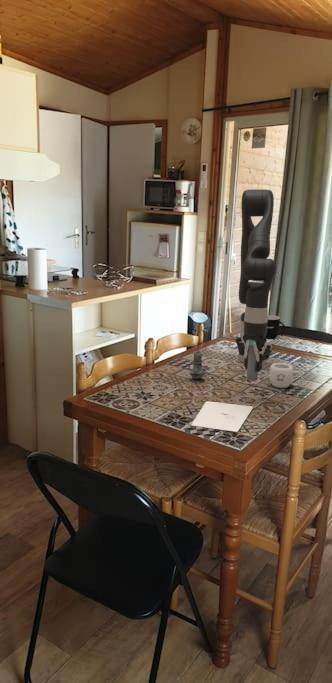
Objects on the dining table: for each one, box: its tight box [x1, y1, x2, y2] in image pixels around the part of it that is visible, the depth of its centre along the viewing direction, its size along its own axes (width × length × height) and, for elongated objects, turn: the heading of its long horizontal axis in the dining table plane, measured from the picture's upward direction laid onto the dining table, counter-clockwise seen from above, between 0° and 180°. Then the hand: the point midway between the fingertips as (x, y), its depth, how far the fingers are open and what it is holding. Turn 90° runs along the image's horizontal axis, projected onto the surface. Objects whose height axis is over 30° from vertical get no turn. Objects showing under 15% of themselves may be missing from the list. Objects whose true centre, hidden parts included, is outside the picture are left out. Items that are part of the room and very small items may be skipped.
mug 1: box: [266, 314, 286, 340], centre depth 262 cm, size 12×9×10 cm
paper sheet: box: [190, 401, 254, 433], centre depth 172 cm, size 24×29×1 cm
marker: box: [246, 339, 259, 382], centre depth 179 cm, size 4×4×14 cm
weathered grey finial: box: [189, 349, 206, 384], centre depth 200 cm, size 6×6×12 cm
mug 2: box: [268, 362, 304, 389], centre depth 196 cm, size 12×8×8 cm
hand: (252, 369), depth 180 cm, fingers closed on marker, 3 cm apart
